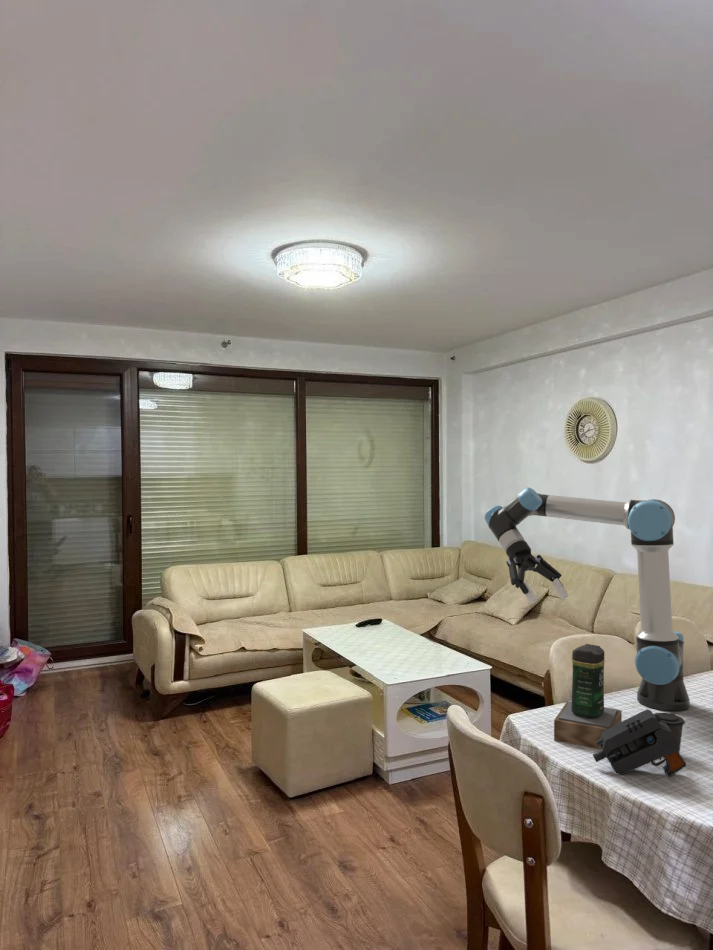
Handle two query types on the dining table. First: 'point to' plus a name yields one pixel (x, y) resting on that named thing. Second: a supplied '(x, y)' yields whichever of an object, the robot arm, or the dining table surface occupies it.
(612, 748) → the grey toy blaster gun
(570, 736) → the wooden block
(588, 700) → the coffee jar
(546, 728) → the dining table surface
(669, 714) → the coffee cup
